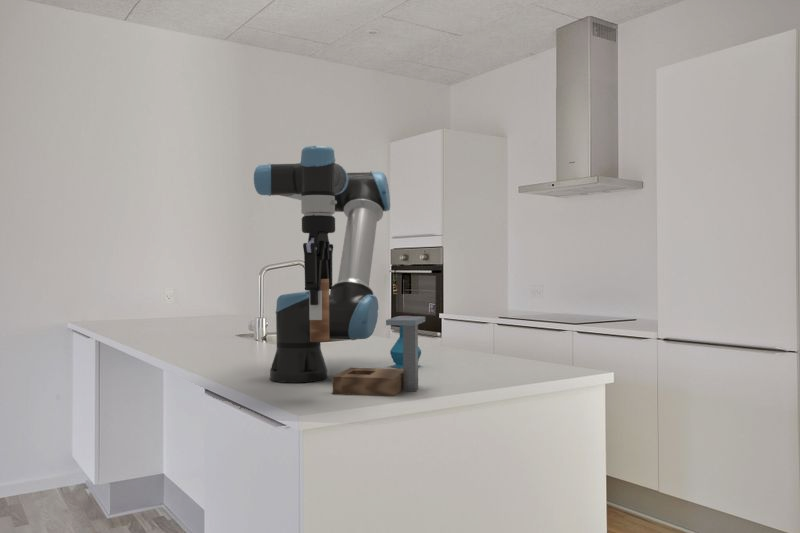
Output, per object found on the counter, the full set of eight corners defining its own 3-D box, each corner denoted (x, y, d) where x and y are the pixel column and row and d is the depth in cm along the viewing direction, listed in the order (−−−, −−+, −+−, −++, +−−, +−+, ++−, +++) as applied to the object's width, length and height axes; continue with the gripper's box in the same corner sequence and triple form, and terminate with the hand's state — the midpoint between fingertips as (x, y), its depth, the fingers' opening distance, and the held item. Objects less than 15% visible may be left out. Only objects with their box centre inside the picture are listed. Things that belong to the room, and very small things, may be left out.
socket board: (332, 393, 157) (332, 376, 157) (350, 383, 170) (350, 367, 170) (394, 395, 153) (394, 378, 153) (408, 385, 167) (408, 369, 167)
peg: (307, 341, 150) (306, 279, 150) (314, 339, 154) (313, 278, 154) (325, 342, 149) (325, 279, 149) (332, 339, 153) (331, 278, 153)
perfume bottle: (402, 363, 205) (401, 314, 205) (427, 366, 199) (426, 315, 199) (384, 367, 197) (383, 316, 197) (409, 369, 192) (409, 317, 192)
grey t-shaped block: (386, 393, 156) (385, 320, 156) (398, 384, 168) (397, 316, 168) (416, 395, 154) (415, 320, 154) (425, 385, 166) (425, 316, 166)
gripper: (321, 212, 142) (322, 322, 142) (345, 217, 159) (346, 316, 159) (288, 213, 144) (289, 322, 144) (316, 218, 160) (317, 315, 161)
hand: (319, 318), depth 151 cm, fingers closed on peg, 4 cm apart
